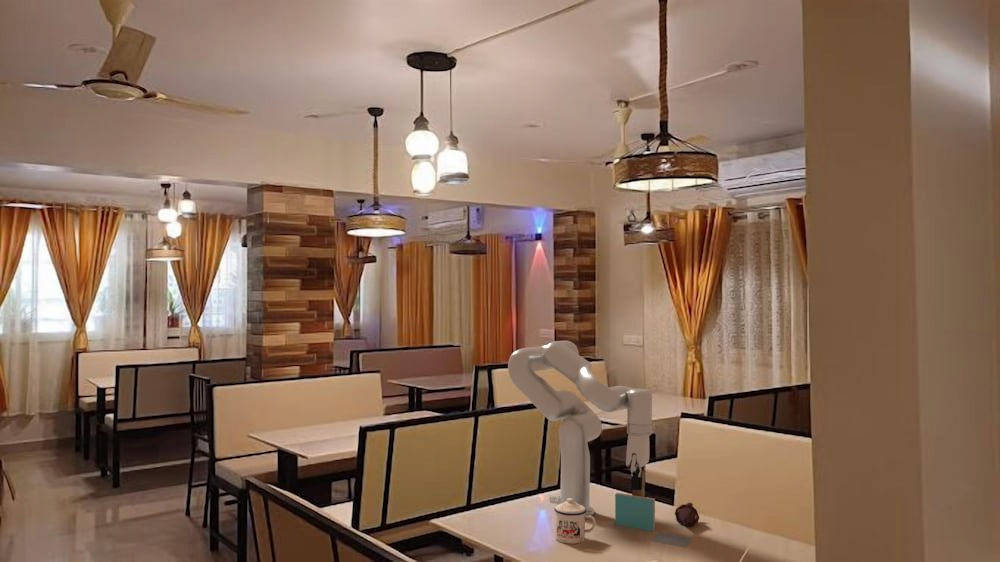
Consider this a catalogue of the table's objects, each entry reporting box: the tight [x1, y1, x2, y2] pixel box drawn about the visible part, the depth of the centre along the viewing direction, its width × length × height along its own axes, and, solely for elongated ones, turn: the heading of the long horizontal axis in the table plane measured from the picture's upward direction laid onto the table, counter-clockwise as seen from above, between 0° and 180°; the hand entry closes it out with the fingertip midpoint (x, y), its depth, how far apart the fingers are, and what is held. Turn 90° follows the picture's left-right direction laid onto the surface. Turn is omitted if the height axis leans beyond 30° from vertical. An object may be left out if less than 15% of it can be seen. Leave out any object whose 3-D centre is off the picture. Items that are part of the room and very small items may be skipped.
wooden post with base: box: [631, 469, 646, 497], centre depth 223 cm, size 7×5×12 cm
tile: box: [614, 492, 656, 532], centre depth 220 cm, size 12×2×10 cm, turn 62°
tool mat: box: [651, 531, 694, 548], centre depth 209 cm, size 10×9×1 cm
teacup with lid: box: [554, 498, 597, 545], centre depth 209 cm, size 12×9×12 cm
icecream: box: [674, 502, 700, 527], centre depth 223 cm, size 7×7×15 cm
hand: (638, 487), depth 223 cm, fingers closed on wooden post with base, 3 cm apart
